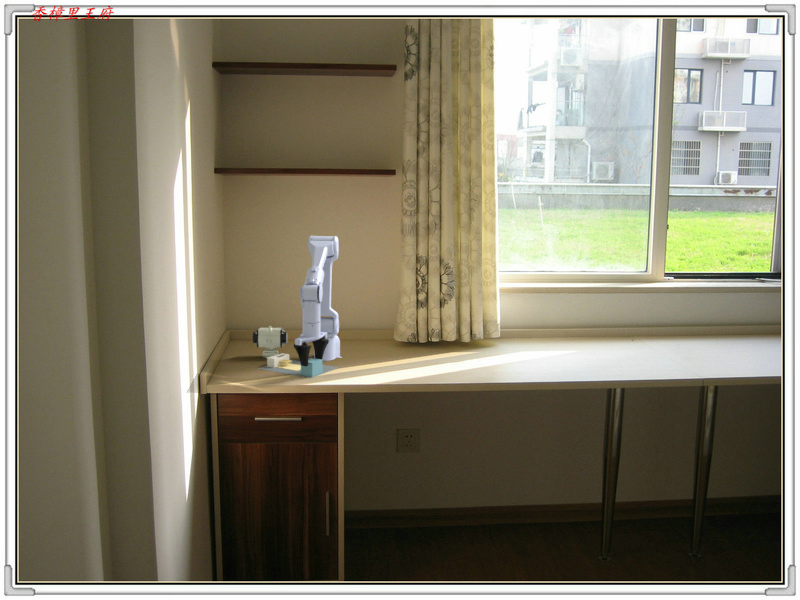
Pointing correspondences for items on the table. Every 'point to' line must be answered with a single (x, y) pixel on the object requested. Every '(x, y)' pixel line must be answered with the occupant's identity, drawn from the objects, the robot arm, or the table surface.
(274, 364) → the header
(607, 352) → the table surface
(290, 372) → the mat
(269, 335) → the pneumatic valve
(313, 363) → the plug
